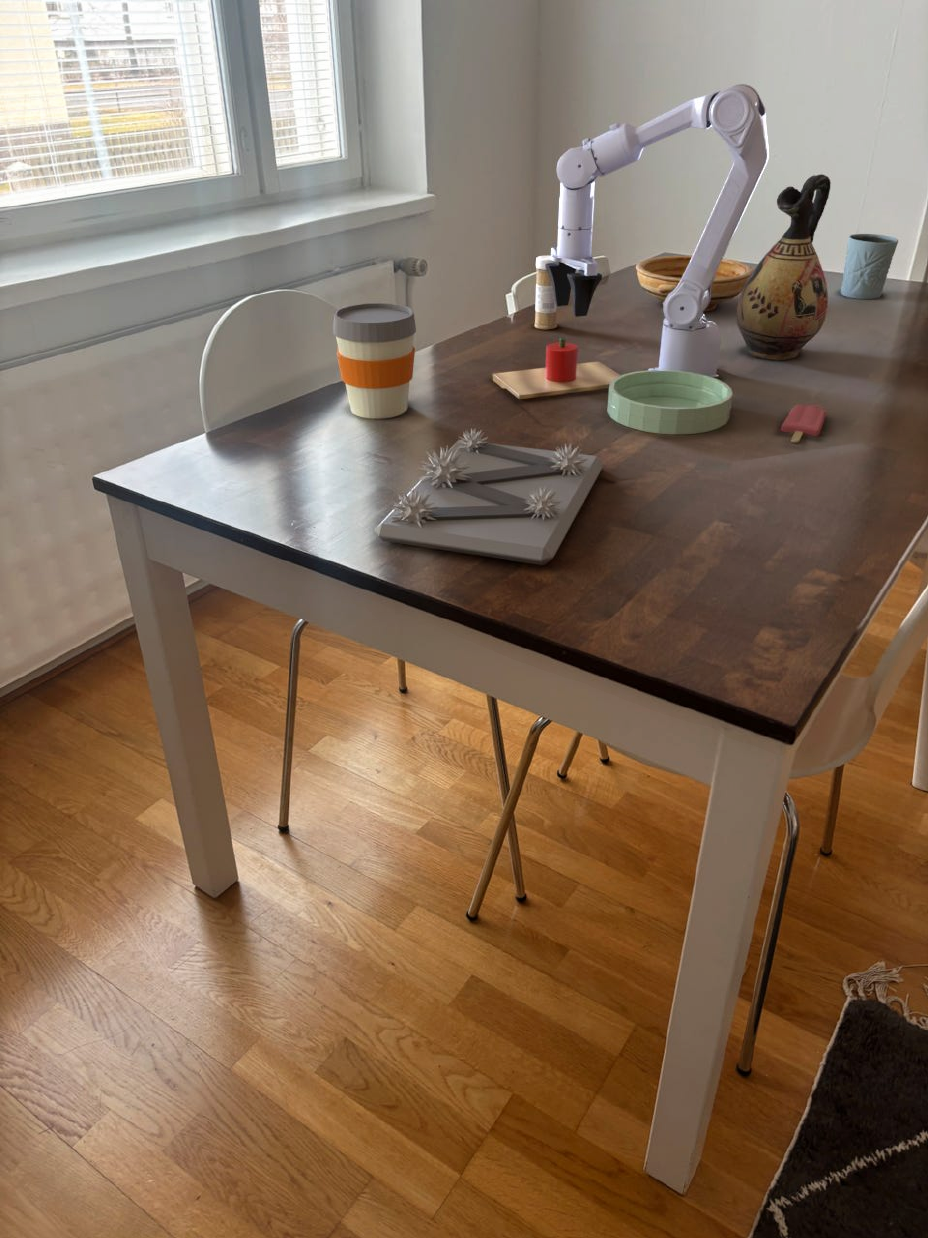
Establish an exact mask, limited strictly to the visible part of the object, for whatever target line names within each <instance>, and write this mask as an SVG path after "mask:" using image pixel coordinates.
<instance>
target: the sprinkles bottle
mask: <svg viewBox="0 0 928 1238" xmlns="http://www.w3.org/2000/svg"><path fill="white" fill-rule="evenodd" d="M535 259H536V260H535V268H536V283H535V307H534V308H535V309H534V310H535V315H534V318H535V319H534V320H535V321H534V327H535V328H536V329H539V330H545V331H547V330H554V329H555V328H557V327H558V323H557V321H558V319H557V318H558V317H557V316H558V306H556V303H555V298H554V292H553V287H552V283H551V279H550V276H549V274H548V271H547V269H546V267H545V264H547V263H553V261H552V260H551V255H539V256H537V257H536V258H535Z"/></svg>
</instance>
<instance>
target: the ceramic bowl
mask: <svg viewBox="0 0 928 1238" xmlns="http://www.w3.org/2000/svg"><path fill="white" fill-rule="evenodd" d="M692 256H693V255H671V256H670V255H669V256H668V255H667V256H657V257H652V258H648V259H644V260H641V261H639V262H638V263H637V264H635V265H636V266H635V269H636V271H637V272H636V274H637V279H638V282H639V285H640V286H641V288H642V289H643V290H644V292H645V293H647V295H650V296H651V297H653V298H655V299H657V300H659V301H661V302H662V305H663V306H664V302H665V299H666V298H667V296H668V295H669V294H670V293H671V292H672V291H673V290H674V289H675V288H676V286H677V285H678V283H679V282H680V280H681V278H682V276H683V274H684V272H685V270H686V269H687V267H688V265H689V263H690V261H691V258H692ZM753 270H754V269H753V268H751V266H749V265H748V264H745V263H743V262H741V261H737V260H733V259H728V258H723V259H722V261H721V263H720V265H719V268H718V270H717V273H716V276H715V278H714V281H713V283H712V286H711V300H710V303H709V305H708V306H707V308H706V309H705V310H704V311H703V313H704V312H709V311H713V310H714V309H716V308H717V305H718V304H721V303H724V302H727V301H728V300H731V299H734V298H736V297H737V296H739V295H741V293H742V290H743V288H744V285H745V283H746V281H747V280H748V278H749V276H750V275H751V273H752V271H753Z"/></svg>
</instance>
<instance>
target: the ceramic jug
mask: <svg viewBox="0 0 928 1238" xmlns="http://www.w3.org/2000/svg"><path fill="white" fill-rule="evenodd" d="M831 184H832V183H831V179H830V178H829V176H827V175H825V174H822V173H821V174H817V175H815V174H814V175H811V176H809V177H808V178H807V180H805V182H804V183H803V185H802V188H801V190H799V189H797V188H795V187H794V186H791V185H790V186H786V188H784V189H783V190H782V191H781V192H780V193H779V195H778V196H777V199H776V205H777V208H778V210H780V211H781V212H783V213H784V214H785V215H787V216H789V217H790V225H789V227H788V228H787V230H786V231H785V232H784V233H783V234H782V236H781V238H780V239H779V240H778V241H777V242H776V243H775V244H774V245H773V246H772V247H771V248H770V250H769V251H767V252H766V254H765V255H764V256H763V257H762V259H761V260H760V261H759V262H758V263H757V265H756V266H755V268H754V269H752V270H753V271H752V273H751V275H750V276H749V278H748V280H747V281H746V283H745V285H744V288H743V290H742V292H741V293H740V294H739V298H738V300H737V301H738V302H737V305H736V321H737V328H738V330H739V332H740V334H741V336H742V338H743V341H744V343H745V346H746V348H745V350H744V351H745V352H746V353H747V354H748V355H749V356H751V357H754V358H758V359H759V358H762V359H765V360H771V361H786V360H789V359H794V358H795V357H797V356H798V355H799V352H800V351H801V350H802V349H803V348H804V347H805V346H806V345H807V344H808V343H809V342H810V341H811V340H812V339H813V338H814V337H815V336H816V335H817V334H818V333H819V332H820V330H821V329H822V326H823V324H824V322H825V321H826V317H827V312H828V303H829V293H828V284H827V280H826V276H825V273H824V269H823V267H822V264H821V262H820V259H819V256H818V254H817V251H816V249H815V247H814V245H813V241H814V236H815V232H816V231H817V228H818V225H819V222H820V220H821V218H822V216H823V213H824V210H825V207H826V205H827V204H828V203H827V202H828V199H829V198H830V197H829V196H830V191H831Z"/></svg>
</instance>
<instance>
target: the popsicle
mask: <svg viewBox="0 0 928 1238" xmlns="http://www.w3.org/2000/svg"><path fill="white" fill-rule="evenodd" d="M826 416H827V411H826V410H825V409H824V408H823V407H820V406H817V405H814V404H796V405H795V406H793V407H792V408H791V409H790V411H789V412H788V414H787V415H786V417H785V419H784V421H783V423H782V424H781V426H780V431H781V432H785V433H792V434H793V435H792V436H791V439H790V442H791V443H794V444H797V443H800V441H801V439H802V437H803V435H805V436H813V437H818V436H819V435H820V433H821V431H822V429H823V425H824V422H825V420H826Z"/></svg>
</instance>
